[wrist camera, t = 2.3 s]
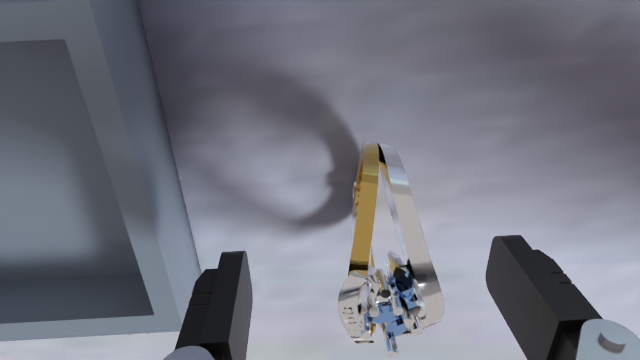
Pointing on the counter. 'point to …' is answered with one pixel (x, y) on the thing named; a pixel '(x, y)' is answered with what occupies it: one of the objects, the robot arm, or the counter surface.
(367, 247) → the ring
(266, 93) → the counter surface
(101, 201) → the dish
